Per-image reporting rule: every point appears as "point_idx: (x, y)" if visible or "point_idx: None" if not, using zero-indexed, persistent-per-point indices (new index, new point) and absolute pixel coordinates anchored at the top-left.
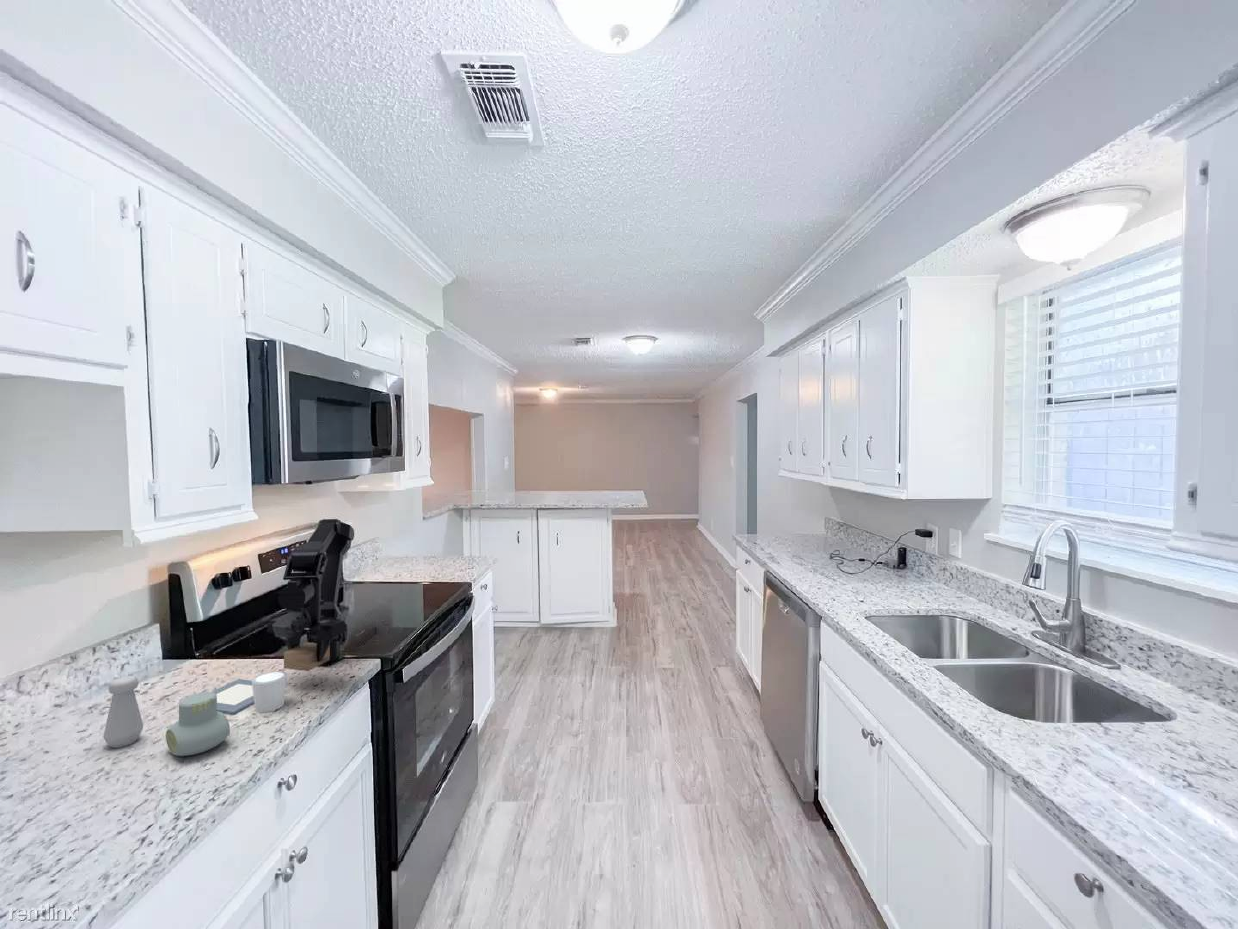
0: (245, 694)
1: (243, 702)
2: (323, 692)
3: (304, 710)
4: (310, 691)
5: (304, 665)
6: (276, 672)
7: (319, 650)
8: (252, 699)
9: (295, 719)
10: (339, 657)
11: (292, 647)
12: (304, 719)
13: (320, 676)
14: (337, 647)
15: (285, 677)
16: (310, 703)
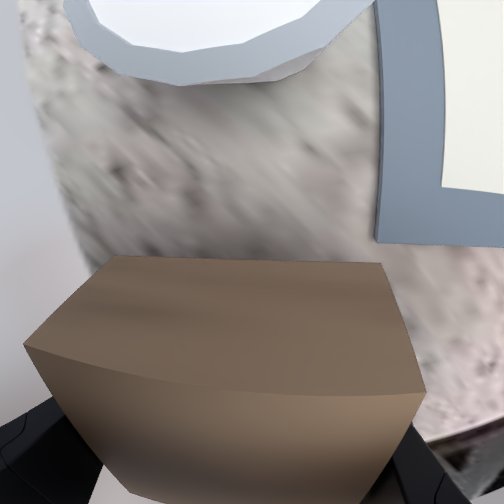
0: (491, 92)
1: (422, 4)
2: (129, 231)
3: (68, 67)
4: (195, 225)
5: (124, 282)
6: (245, 32)
7: (32, 415)
8: (409, 38)
9: (53, 10)
10: None
11: (390, 481)
12: (29, 30)
13: None
14: None
15: (77, 22)
16: (91, 122)
